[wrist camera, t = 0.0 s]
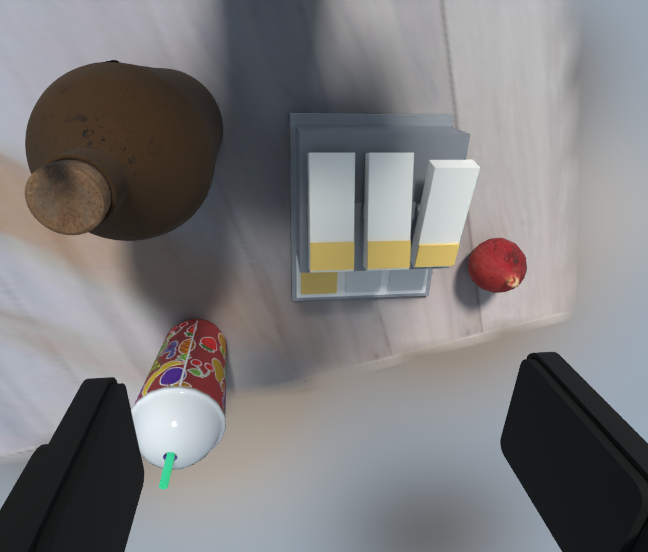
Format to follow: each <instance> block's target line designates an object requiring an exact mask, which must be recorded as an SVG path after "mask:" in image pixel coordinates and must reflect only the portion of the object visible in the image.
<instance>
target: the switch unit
mask: <svg viewBox="0 0 648 552" xmlns="http://www.w3.org/2000/svg"><path fill="white" fill-rule="evenodd" d="M453 122H454V115H452V114H364V113H290V181H291V272H292V301H305V300H329V299H354V298H379V297H404V296H428V295H429V290H430V283H431V276H432V269H433V268H449V266H444V267H413V264H412V262H411V260H410V268H409V269H402V270H371V271H367V270H366V269H365V268H364V267H363V251H364V218H363V217H362V206H363V204H364V197H365V153H414V166H413V189H412V211H411V234H410V240H411V247H412V242H413V237H414V232H415V228H416V223H417V218H418V217H417V216H416V214H415V207H416V204H420V203H421V198H422V193H423V188H424V183H425V178H426V173H427V169H428V164H429V160H466V156H467V149H468V143H469V137H470V134H468V133H466V132H463V131H460V130H457V129H455V128H453ZM307 153H355V201H354V271H341V272H311V273H310V270H309V253H308V218H307V205H308V172H307ZM410 252H411V250H410Z"/></svg>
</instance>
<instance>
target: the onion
mask: <svg viewBox="0 0 648 552" xmlns="http://www.w3.org/2000/svg"><path fill="white" fill-rule="evenodd" d="M468 270H469V274H470V277H471V279H472V280H473V281H474V282H475V283H476V284H477V285H478V286H479V287H480V288H482V289H484V290H487V291H490V292H493V293H497V292H506V291H509V290H512V289H514V288H515V287H518V285H519V284H520V283H521V282H522V280H523V279H524V277H525V274H526V270H527V264H526V258H525V255H524V254H523V252H522V251H521V250H520V248H519V247H518V246H517V245H516V244H515V243H513V242H511V241H508V240H506V239H504V238H493V239H489V240H487V241H485V242H483V243H481V244H479V245H478V246H477V247H476V248H475V249H474V250H473V252H472V254H471V255H470V258H469V264H468Z"/></svg>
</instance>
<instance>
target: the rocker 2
mask: <svg viewBox="0 0 648 552" xmlns="http://www.w3.org/2000/svg"><path fill="white" fill-rule="evenodd" d="M413 166H414V153H365V197H364V204H363V206H362V217H363V218H364V251H363V267H364V268H365V269H366V270H367V271H371V270H402V269H409V268H410V250H411V240H410V234H411V211H412V189H413Z"/></svg>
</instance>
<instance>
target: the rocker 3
mask: <svg viewBox="0 0 648 552" xmlns="http://www.w3.org/2000/svg"><path fill="white" fill-rule="evenodd" d="M479 170H480V167H479V166H478V165H477V164H476V163H475V162H474V161H473V160H429V164H428V169H427V173H426V178H425V183H424V188H423V193H422V198H421V203H420V204H416V207H415V214H416V216H417V217H418V218H417V223H416V228H415V232H414V237H413V242H412V247H411V252H410V260H411V262H412V264H413V267H444V266H454V263H455V259H456V256H457V252H458V249H459V245H460V244H459V241H460V238H461V234H462V231H463V227H464V224H465V220H466V216H467V213H468V209H469V206H470V202H471V199H472V195H473V191H474V188H475V184H476V181H477V177H478V174H479Z"/></svg>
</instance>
